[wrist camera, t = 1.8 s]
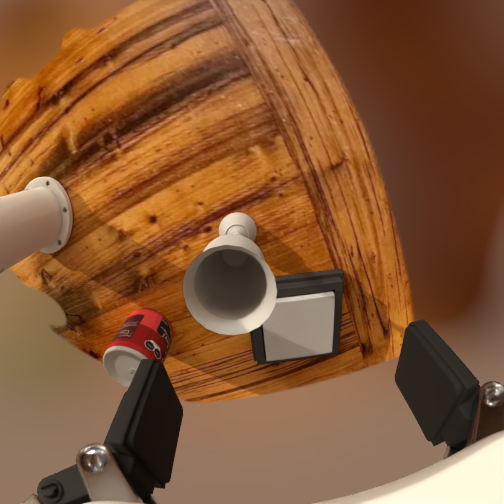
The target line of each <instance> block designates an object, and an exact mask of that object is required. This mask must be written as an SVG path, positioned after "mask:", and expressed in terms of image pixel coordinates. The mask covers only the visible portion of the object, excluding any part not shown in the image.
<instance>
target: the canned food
mask: <svg viewBox="0 0 504 504" xmlns="http://www.w3.org/2000/svg"><path fill="white" fill-rule="evenodd" d="M172 338H173V332H172V327H171V325H170V323H169V321H168V320H167V319H166V318H165V317H164V316H163V315H162V314H160V313H159V312H157V311H155V310H152V309H147V308H144V309H138V310H136V311H134V312H133V313H131V314H130V315H129V317H128V318H127V320H126V321H125V323H124V324H123V326H122V327H121V329H120V330H119V332H118V333H117V335H116V336H115V338H114V339H113V341H112V342H111V344H110V345H109V347H108V348H107V350H106V352H105V354H104V356H103V364H104V367H105V369H106V371H107V372H108V374H109V375H110V376H111V377H112V378H113V379H114V380H115V381H116V382H118V383H119V384H121V385H123V386H125V387H127V388H129V386H130V384H131V382H132V379H133V377H134V375H135V373H136V370H137V368H138V366H139V364H140V362H141V360H142V359H157V360H158V361H159V363H163V364H164V361H165V358H166V356H167V353H168V350H169V347H170V345H171V342H172Z"/></svg>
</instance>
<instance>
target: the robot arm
mask: <svg viewBox="0 0 504 504" xmlns="http://www.w3.org/2000/svg"><path fill="white" fill-rule="evenodd" d="M72 224H73V214H72V207H71V203H70V200H69V197H68V195H67V193H66V191H65V190H64V188H63V186H62V185H61V184H60V183H59V182H58V181H56V180H55V179H53V178H50V177H39V178H36V179H34V180H32V181H31V182H30V183H29V184H28V185H27V186H26V188H25V190H24V191H21V192H17V193H14V194H10V195H6V196H2V197H0V273H2V272H3V271H5V270H6V269H8V268H10V267H11V266H13V265H15V264H16V263H18V262H20V261H21V260H23V259H25V258H26V257H28V256H30V255H32V254H33V253H35V252H37V251H40V252H42V253H46V254H49V253H54V252H56V251H58V250H60V249H61V248H62V247H64V246H65V244H66V243H67V241H68V239H69V237H70V234H71V231H72ZM395 381H396V384H397V386H398V388H399V389H400V391H401V393H402V395H403V396H404V398H405V400H406V402H407V404H408V405H409V407H410V409H411V411H412V413H413V414H414V416H415V418H416V420H417V422H418V424H419V426H420V427H421V429H422V431H423V433H424V435H425V437H426V439H427V440H428V441H431V442H432V444H433V446H436V445H438V444H440V443H442V442H444V441H445V442H446V444H447V448H446V452H445V455H444V459H443V460H442V461H440V462H438V463H435V464H433V465H431V466H429V467H427V468H425V469H423V470H420V471H418V472H416V473H414V474H411V475H409V476H406V477H404V478H401V479H399V480H396V481H393V482H391V483H388V484H385V485H382V486H379V487H376V488H373V489H369V490H366V491H363V492H360V493H356V494H352V495H348V496H345V497H340V498H336V499H332V500H327V501H322V502H317V503H311V504H504V385H503V384H501V383H499V382H495V381H490V382H487V383H485V384H484V385H482V387H480V385H479V381H478V380H477V379H476V377H475V376H474V375H473V374H472V373H471V371H470V370H469V369H468V368H467V367H466V366H465V364H464V363H463V362H462V361H461V360H460V358H459V357H458V356H457V355H456V354H455V353H454V352H453V351H452V349H451V348H450V347H449V346H448V345H447V344H446V343H445V342H444V341H443V340H442V338H441V337H440V336H439V335H438V334H437V333H436V332H435V331H434V330H433V329H432V328H431V327H430V325H429V324H428V323H427V322H426V321H425V320H418V321H415V322H411V323H410V324H409V326H408V327H407V328H406V329H405V334H404V339H403V344H402V348H401V353H400V357H399V362H398V366H397V370H396V373H395ZM182 417H183V408H182V405H181V403H180V401H179V399H178V397H177V395H176V393H175V390H174V388H173V386H172V384H171V381H170V379H169V377H168V374H167V372H166V370H165V367H164V365H163V363H159V361H158V360H157V359H142V360H141V362H140V364H139V366H138V368H137V370H136V373H135V375H134V377H133V379H132V382H131V384H130V386H129V388H128V391H127V392H125V394H124V396H123V398H122V400H121V403H120V405H119V407H118V410H117V412H116V414H115V417H114V419H113V421H112V424H111V426H110V429H109V431H108V434H107V436H106V439H105V442H104V444H100V443H91V444H88V445H86V446H84V447H83V448H82V449H81V450H80V451H79V452H78V454H77V457H76V463H77V464H76V465H74V466H71V467H69V468H67V469H64V470H62V471H60V472H58V473H55V474H53V475H50V476H48V477H46V478H44V479H42V481H41V482H40V483H39V485H38V488H37V493H38V494H37V495H35V494H32V495H31V496H30V497H29V498H27V499H26V500H25V501H24V502H22V503H21V504H159V503H158V502H157V500H156V499H155V497H154V496H153V490H154V487H156V488H164V489H165V484H166V483H168V482H169V481H170V479H171V473H172V468H173V462H174V457H175V452H176V447H177V442H178V436H179V431H180V426H181V422H182Z"/></svg>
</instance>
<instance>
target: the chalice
mask: <svg viewBox="0 0 504 504" xmlns="http://www.w3.org/2000/svg"><path fill="white" fill-rule="evenodd" d="M256 233H257V229H256V224H255V223H254V221H253V219H251V218H250V217H249V216H248V215H246V214H244V213H232V214H229V215H228V216H226V217H225V218H224V219H223V220H222V221H221V224H220V226H219V237H218V238H216V239H214V240H213V241H211V242H210V243H209V244H208V246H207V247H206V248H205V249H204V251H203V253H201V254H200V255H198V256H197V257H196V258H195V259H194V260H193V262H192V263H191V264H190V266H189V267H188V268H187V271H186V274H185V277H184V280H183V296H184V299H185V302H186V305H187V308H188V310H189V311H190V313H191V314H192V316H193V317H194V318H195V320H196V321H198V322H199V323H200V324H201V325H203V326H204V327H205V328H207V329H209V330H211V331H214V332H216V333H218V334H225V335H239V334H244V333H248V332H250V331H252V330H254V329H256V328H258V327H260V326H261V325H262V324H263V323H264V322H265V321H266V320H267V319H268V318H269V316H270V314H271V312H272V310H273V308H274V306H275V302H276V296H277V288H276V282H275V277H274V275H273V273H272V271H271V270H270V268H269V266H268V264H267V263H266V262H265V259H264V256H263V254H262V252H261V250H260V248H259V247H258V246H257V245H256V244H255V243H254V240H255V238H256Z"/></svg>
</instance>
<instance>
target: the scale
mask: <svg viewBox="0 0 504 504" xmlns="http://www.w3.org/2000/svg"><path fill="white" fill-rule="evenodd" d="M274 277H275V282H276V288H277V296H276V297H283V296H292V295H300V294H308V293H316V292H323V291H331V290H332V292H333V293H334V295H335V307H334V328H333V345H332V352H330V353H324V354H318V355H312V356H305V357H298V358H290V359H282V360H274V361H267V360H266V350H265V341H264V332H263V324H262V325H261V326H260V327H258V328H256V329H254V330H252V331H250V334H251V342H252V349H253V356H254V361H257V364H258V365H259V364H269V363H278V362H287V361H294V360H302V359H309V358H315V357H321V356H327V355H333V354H338V353H339V343H340V330H341V315H342V294H343V272H342V270H341V269H334V270H326V271H318V272H309V273H301V274H292V275H284V276H274Z"/></svg>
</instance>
